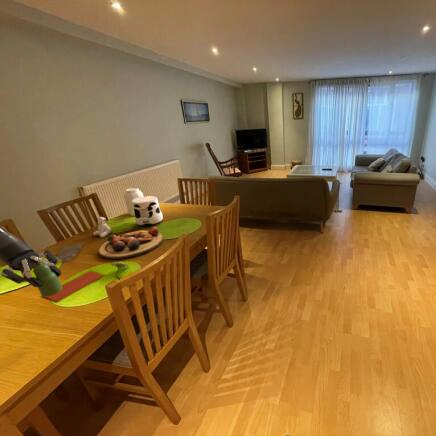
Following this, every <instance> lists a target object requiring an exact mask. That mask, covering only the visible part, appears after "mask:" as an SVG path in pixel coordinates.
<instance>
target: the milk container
mask: <svg viewBox="0 0 436 436" xmlns="http://www.w3.org/2000/svg"><path fill="white" fill-rule="evenodd" d="M132 205H133V209H134V212H135V216H134V222H135V223H136V225H138V226H141V227H148V226H153V225H157V224H160V223H161V222H162V221H163V218H164V217H163V215H164V214H163V213H162V211H161V208H160V204H159V201H158V197H156V196H155V195H146V196H143V197H139V198H136V199H134V200H132Z"/></svg>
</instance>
